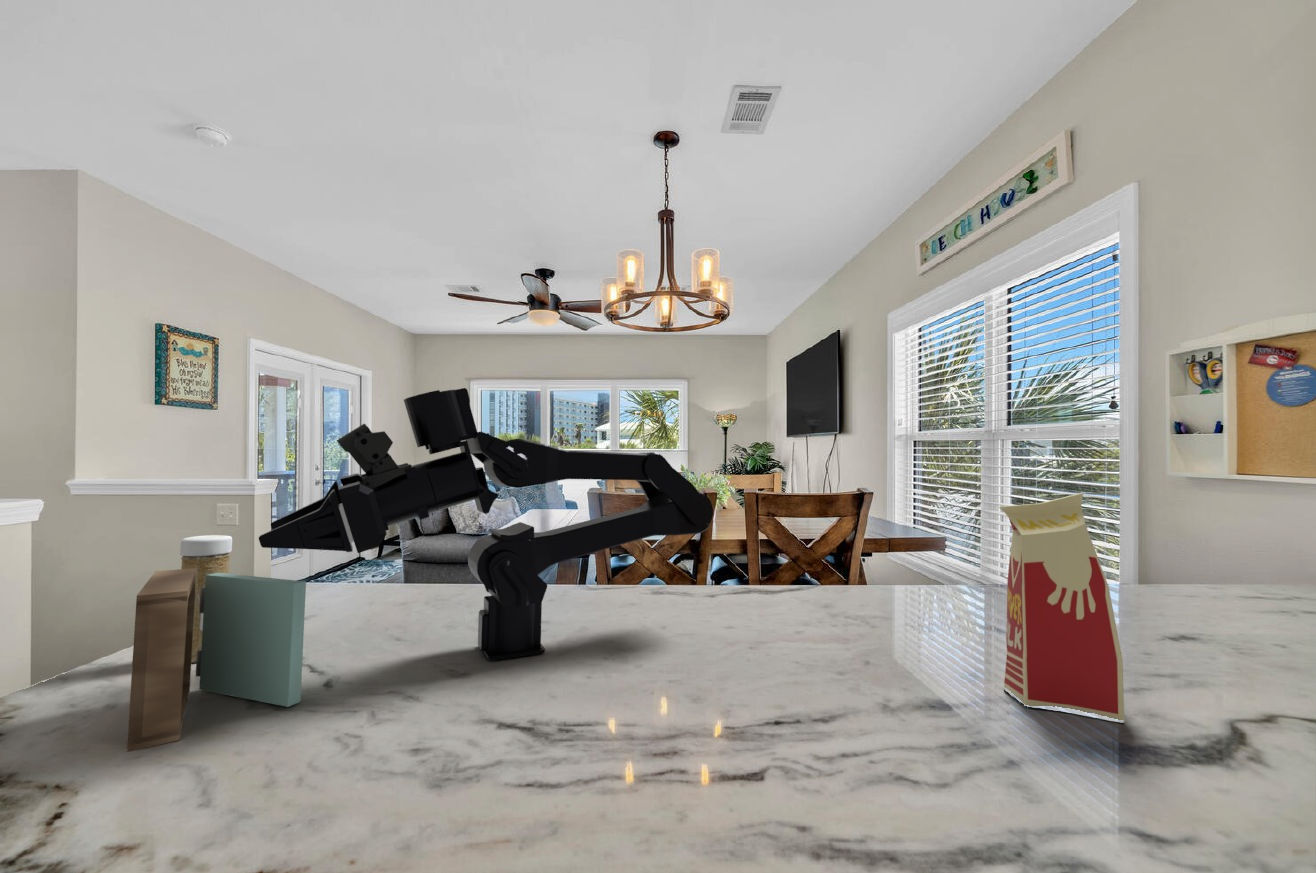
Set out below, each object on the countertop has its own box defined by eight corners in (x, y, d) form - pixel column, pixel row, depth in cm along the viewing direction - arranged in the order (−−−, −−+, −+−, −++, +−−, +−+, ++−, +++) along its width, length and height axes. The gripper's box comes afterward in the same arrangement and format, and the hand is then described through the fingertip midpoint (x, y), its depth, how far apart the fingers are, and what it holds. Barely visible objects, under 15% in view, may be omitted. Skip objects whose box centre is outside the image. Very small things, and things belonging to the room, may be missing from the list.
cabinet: (189, 690, 53) (196, 568, 54) (178, 740, 44) (187, 590, 45) (147, 697, 52) (155, 571, 52) (126, 751, 42) (136, 595, 43)
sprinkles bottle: (224, 659, 62) (230, 537, 63) (170, 667, 59) (177, 540, 60) (227, 648, 66) (234, 533, 67) (177, 654, 63) (184, 535, 64)
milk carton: (1099, 688, 57) (1093, 491, 58) (1131, 726, 49) (1123, 495, 50) (995, 673, 61) (991, 489, 62) (1008, 706, 52) (1003, 492, 53)
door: (204, 683, 55) (211, 571, 55) (300, 701, 51) (306, 581, 51) (191, 687, 54) (197, 574, 54) (288, 706, 50) (294, 584, 50)
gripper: (401, 420, 70) (254, 454, 63) (418, 414, 54) (221, 459, 46) (426, 504, 71) (285, 547, 64) (449, 524, 55) (263, 585, 48)
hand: (266, 534), depth 55 cm, fingers open, 9 cm apart
